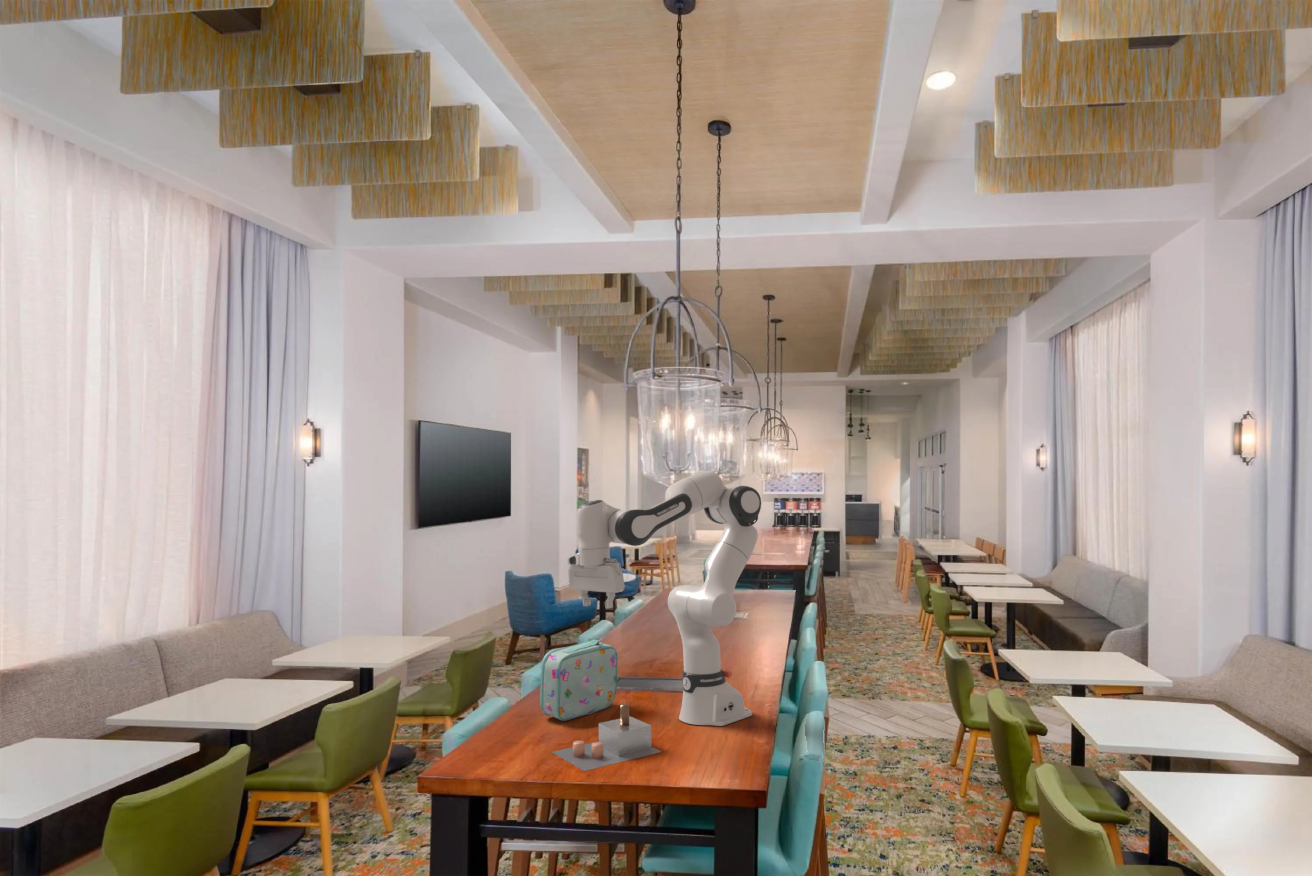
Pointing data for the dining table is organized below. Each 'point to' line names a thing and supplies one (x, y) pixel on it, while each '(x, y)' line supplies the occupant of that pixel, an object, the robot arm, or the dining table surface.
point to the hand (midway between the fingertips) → (597, 606)
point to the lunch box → (578, 680)
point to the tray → (599, 762)
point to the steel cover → (625, 734)
